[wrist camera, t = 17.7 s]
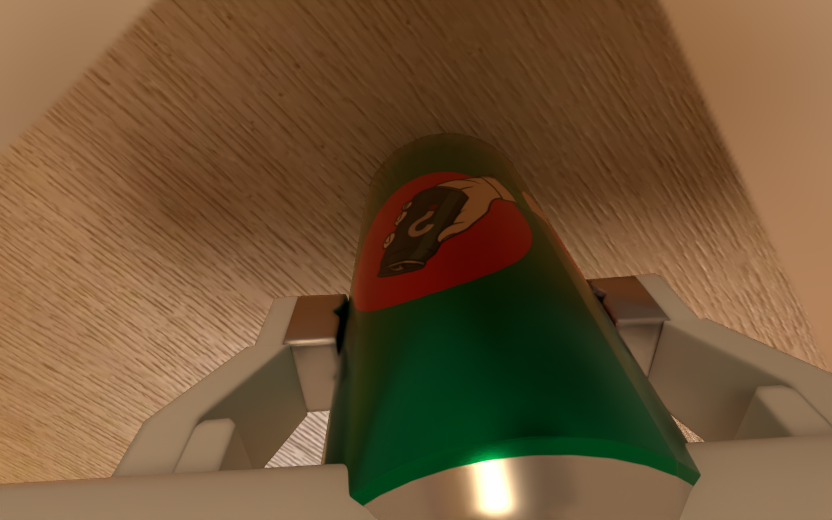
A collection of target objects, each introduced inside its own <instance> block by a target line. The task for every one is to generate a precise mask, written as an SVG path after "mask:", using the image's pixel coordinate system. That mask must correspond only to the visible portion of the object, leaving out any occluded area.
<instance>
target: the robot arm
mask: <svg viewBox="0 0 832 520" xmlns="http://www.w3.org/2000/svg"><path fill="white" fill-rule="evenodd" d="M586 281H587V283H588V284H589V286H590V287H591V289H592V291H593V292H594V294H595V295H596V297H597V299H598V300H599V302H600V303H601V305H602V306H603V308H604V310H605V311H606V313H607V314H608V316H609V318H610V319H611V321H612V322H613V324H614V326H615V327H616V329H617V330H618V332H619V334H620V335H621V337H622V338H623V340H624V341H625V343H626V345H627V346H628V348H629V349H630V351H631V353H632V354H633V356H634V357H635V359H636V361H637V362H638V364H639V365H640V367H641V369H642V370H643V372H644V373H645V375H646V377H647V378H648V380H649V381H650V383H651V384H652V386H653V388H654V389H655V391H656V392H657V394H658V396H659V397H660V399H661V400H662V402H663V404H664V405H665V407H666V408H667V410H668V412H669V413H670V414H671V415H672V416H673V417H675V418H676V419H677V420H678V421H680V422H681V423H682V424H684V425H685V426H686V427H688V428H689V429H690V430H691V431H693V432H694V433H695V434H697V435H698V436H699V437H700V438H702V439H703V440H704V441H706V442H693V443H686V448H687V450H688V452H689V454H690V456H691V457H692V459H693V461H694V463H695V465H696V466H697V468H698V470H699V472H700V474H701V476H700V478H699V479H698V481H697V482H696V484H695V485H694V487H693V488H692V490H691V492H690V494H689V497H688V500H687V502H686V505H685V507H684V510H683V512H682V515H681V517H680V520H832V373H829V372H827V371H825V370H822V369H820V368H818V367H816V366H813V365H811V364H809V363H807V362H804V361H802V360H800V359H798V358H795V357H793V356H791V355H789V354H786V353H784V352H782V351H780V350H777V349H775V348H773V347H770V346H768V345H766V344H764V343H761V342H759V341H757V340H755V339H752V338H750V337H748V336H746V335H743V334H741V333H739V332H737V331H734V330H732V329H730V328H728V327H725V326H723V325H721V324H718V323H716V322H714V321H712V320H709V319H707V318H705V319H699V318H698V317H697V316H696V315H695V314H694V312H693V311H692V310H691V309H690V308H689V307H688V306H687V305H686V304H685V303H684V301H683V300H682V299H681V298H680V297H679V296H678V295H677V294H676V293H675V291H674V290H673V289H672V288H671V287H670V286H669V285H668V284H667V283H666V281H665V280H664V279H663V278H662V277H661V276H660V275H657V274H655V273H653V274H642V275H632V276H625V277H612V278H599V279H587V280H586ZM347 307H348V298H347V296H346V294H335V295H311V296H300V297H299V296H290V297H277V298H276V299H274V300H273V302H272V305H271V307H270V309H269V312H268V314H267V317H266V319H265V321H264V324H263V326H262V329H261V331H260V333H259V336H258V338H257V341H256V343H255V346H252V347H246V348H245V349H244V350H242V351H241V352H239V353H238V354H237V355H235V356H234V357H233V358H231V359H230V360H228V361H227V362H226V363H224V364H223V365H221V366H220V367H219V368H217V369H216V370H215V371H213V372H212V373H210V374H209V375H208V376H206V377H205V378H204V379H202V380H201V381H199V382H198V383H197V384H195V385H194V386H193V387H191V388H190V389H188V390H187V391H186V392H184V393H183V394H182V395H180V396H179V397H177V398H176V399H175V400H173V401H172V402H170V403H169V404H168V405H166V406H165V407H164V408H162V409H161V410H159V411H158V412H157V413H155V414H154V415H153V416H151V417H150V418H148V419H147V420H146V421H144V423H143V424H142V426H141V428H140V429H139V431H138V433H137V434H136V436H135V438H134V439H133V441H132V443H131V444H130V446H129V448H128V449H127V451H126V453H125V454H124V456H123V458H122V459H121V461H120V463H119V464H118V466H117V468H116V469H115V471H114V473H113V474H112V476H111V477H108V478H91V479H74V480H57V481H41V482H24V483H7V484H0V520H377V519H376V518H375V517H374V516H373V515H372V514H371V513H370V512H369V511H368V510H367V509H366V508H365V507H363V506H362V505H361V504H359V503H358V502H356V501H355V500H354V499H352V498H351V497H350V495H349V486H348V470H347V467H346V466H345V465H344V464H325V465H308V466H291V467H275V468H264V467H265V465H266V464H267V463H268V462H269V461H270V459H271V458H272V457H273V456H274V455H275V453H276V452H277V451H278V450H279V448H280V447H281V446H282V445H283V444H284V442H285V441H286V440H287V439H288V438H289V436H290V435H291V434H292V433H293V432H294V430H295V429H296V428H297V427H298V426H299V424H300V423H301V422H302V421H303V419H304V418H305V417H306V416H307V412H317V411H328V410H330V407H331V401H332V395H333V389H334V384H335V378H336V372H337V366H338V360H339V354H340V348H341V342H342V336H343V330H344V324H345V318H346V313H347Z"/></svg>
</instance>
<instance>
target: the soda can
mask: <svg viewBox="0 0 832 520" xmlns="http://www.w3.org/2000/svg"><path fill="white" fill-rule="evenodd" d="M686 443H688V442H687V440H686V439H685V437H684V435H683V434H682V432H681V431H680V429H679V427H678V426H677V424H676V423H675V421H674V419H673V418H672V416H671V415H670V413H669V412H668V410H667V408H666V407H665V405H664V404H663V402H662V400H661V399H660V397H659V396H658V394H657V392H656V391H655V389H654V388H653V386H652V384H651V383H650V381H649V380H648V378H647V377H646V375H645V373H644V372H643V370H642V369H641V367H640V365H639V364H638V362H637V361H636V359H635V357H634V356H633V354H632V353H631V351H630V349H629V348H628V346H627V345H626V343H625V341H624V340H623V338H622V337H621V335H620V334H619V332H618V330H617V329H616V327H615V326H614V324H613V322H612V321H611V319H610V318H609V316H608V314H607V313H606V311H605V310H604V308H603V306H602V305H601V303H600V302H599V300H598V299H597V297H596V295H595V294H594V292H593V291H592V289H591V287H590V286H589V284H588V283H587V281H586V279H585V278H584V276H583V275H582V273H581V271H580V270H579V268H578V267H577V265H576V263H575V262H574V260H573V259H572V257H571V256H570V254H569V252H568V251H567V249H566V248H565V246H564V244H563V243H562V241H561V240H560V238H559V236H558V235H557V233H556V232H555V230H554V228H553V227H552V225H551V224H550V222H549V221H548V219H547V217H546V216H545V214H544V213H543V211H542V209H541V208H540V206H539V205H538V203H537V201H536V200H535V198H534V197H533V195H532V193H531V192H530V190H529V189H528V187H527V185H526V184H525V182H524V181H523V179H522V178H521V176H520V174H519V173H518V171H517V170H516V168H515V166H514V165H513V163H512V162H511V161H510V160H509V159H508V158H507V157H506V156H505V154H503V153H502V152H501V151H499V150H498V149H497V148H496V147H494V146H493V145H491V144H489V143H487V142H485V141H483V140H481V139H478V138H475V137H472V136H467V135H462V134H437V135H430V136H426V137H423V138H420V139H417V140H414V141H412V142H410V143H408V144H406V145H404V146H403V147H401V148H400V149H398V150H397V151H396V152H394V153H393V154H392V155H391V156H390V157H389V158H388V159H387V160H386V161H385V162H383V164H382V165H381V166H380V168H379V169H378V170H377V172H376V173H375V175H374V177H373V179H372V181H371V183H370V185H369V189H368V192H367V195H366V200H365V206H364V212H363V218H362V224H361V230H360V236H359V241H358V247H357V253H356V259H355V265H354V271H353V277H352V283H351V289H350V295H349V301H348V307H347V313H346V318H345V324H344V330H343V336H342V342H341V348H340V354H339V360H338V366H337V372H336V378H335V384H334V389H333V395H332V401H331V407H330V413H329V419H328V425H327V431H326V437H325V443H324V449H323V455H322V461H321V465H325V464H344V465H345V466H346V467H347V470H348V486H349V495H350V497H351V498H352V499H354V500H355V501H356V502H358V503H359V504H361V505H362V506H363V507H365V508H366V509H367V510H368V511H369V512H370V513H371V514H372V515H373V516H374V517H375V518H376V519H377V520H680V517H681V515H682V512H683V510H684V507H685V505H686V502H687V500H688V497H689V494H690V492H691V490H692V488H693V487H694V485H695V484H696V482H697V481H698V479H699V478H700V476H701V474H700V472H699V470H698V468H697V466H696V465H695V463H694V461H693V459H692V457H691V456H690V454H689V452H688V450H687V448H686Z"/></svg>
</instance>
